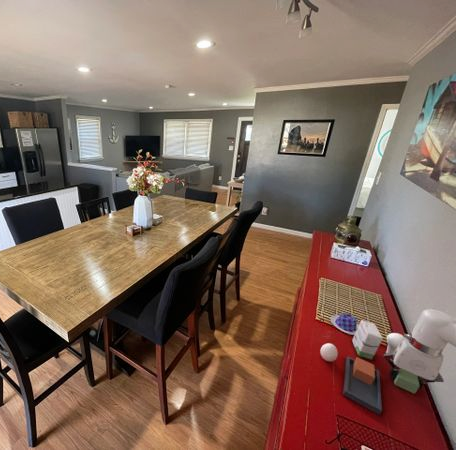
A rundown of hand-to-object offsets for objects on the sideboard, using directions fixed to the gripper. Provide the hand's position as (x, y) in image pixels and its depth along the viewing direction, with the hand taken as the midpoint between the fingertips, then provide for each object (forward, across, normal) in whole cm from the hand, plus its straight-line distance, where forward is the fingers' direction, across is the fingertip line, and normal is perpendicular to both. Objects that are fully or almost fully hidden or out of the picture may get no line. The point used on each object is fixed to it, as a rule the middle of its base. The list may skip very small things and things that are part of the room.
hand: (403, 381), depth 86 cm
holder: (+1, -12, -10) cm, 15 cm away
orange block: (+1, -12, -6) cm, 13 cm away
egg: (+1, -23, -6) cm, 23 cm away
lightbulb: (+2, -3, +13) cm, 13 cm away
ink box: (+1, -12, +9) cm, 15 cm away
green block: (0, 0, 0) cm, 0 cm away
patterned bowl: (+1, -18, +21) cm, 28 cm away
